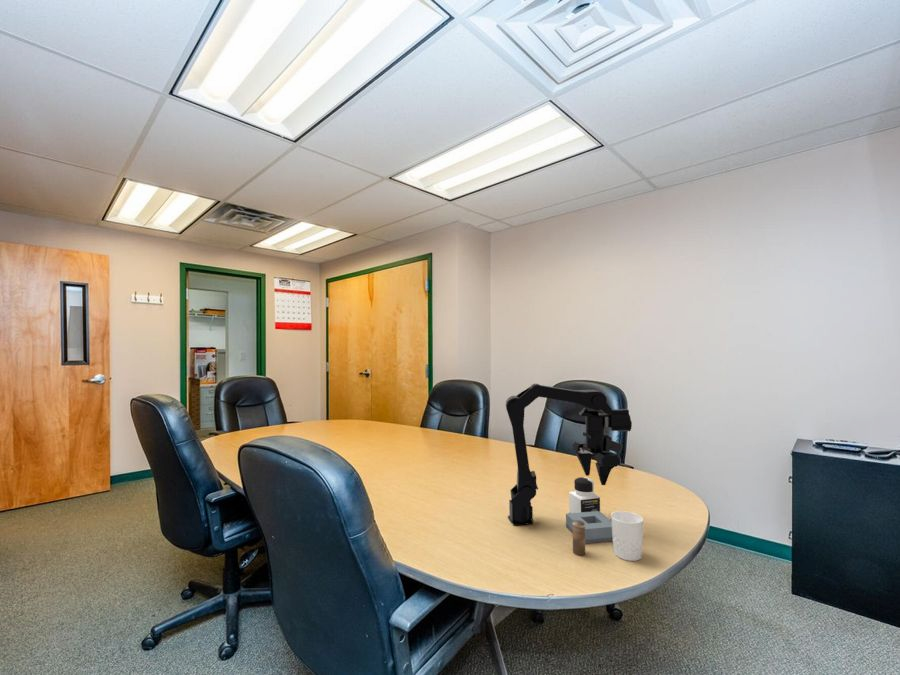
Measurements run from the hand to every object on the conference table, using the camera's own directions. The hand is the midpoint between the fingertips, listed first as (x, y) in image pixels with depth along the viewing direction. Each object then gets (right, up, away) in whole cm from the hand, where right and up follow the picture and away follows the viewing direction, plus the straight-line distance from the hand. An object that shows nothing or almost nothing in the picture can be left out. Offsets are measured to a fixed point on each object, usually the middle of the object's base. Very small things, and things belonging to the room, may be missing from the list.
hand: (595, 480), depth 128 cm
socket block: (-4, -13, -7) cm, 15 cm away
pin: (-11, -13, -18) cm, 25 cm away
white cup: (+2, -13, -19) cm, 24 cm away
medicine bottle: (-1, -14, +6) cm, 15 cm away
